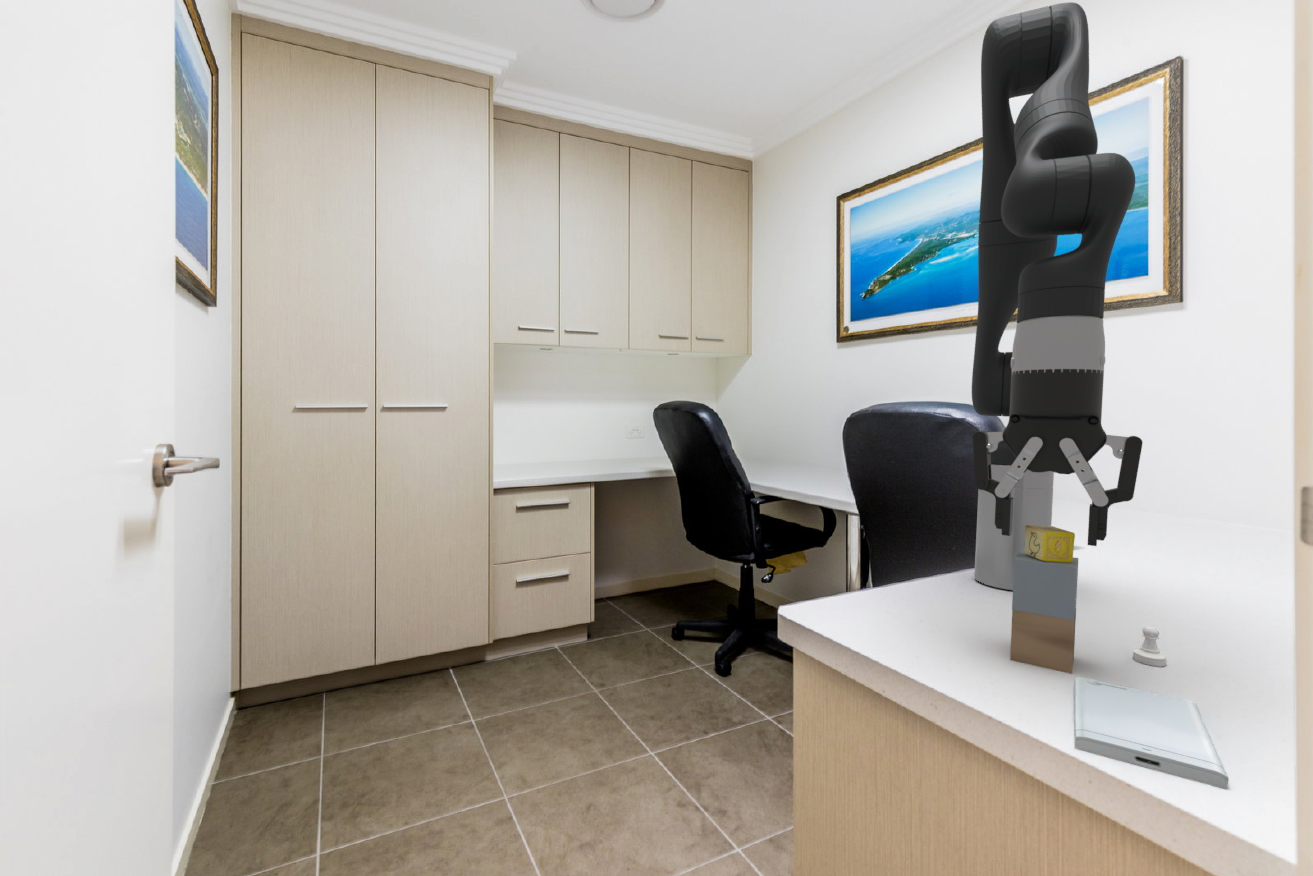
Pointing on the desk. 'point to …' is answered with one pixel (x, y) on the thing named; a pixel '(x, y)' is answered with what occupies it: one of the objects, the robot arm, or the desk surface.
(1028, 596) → the tower top
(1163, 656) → the chess pawn
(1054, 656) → the block
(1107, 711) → the hard drive
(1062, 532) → the alphabet block
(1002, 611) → the desk surface
